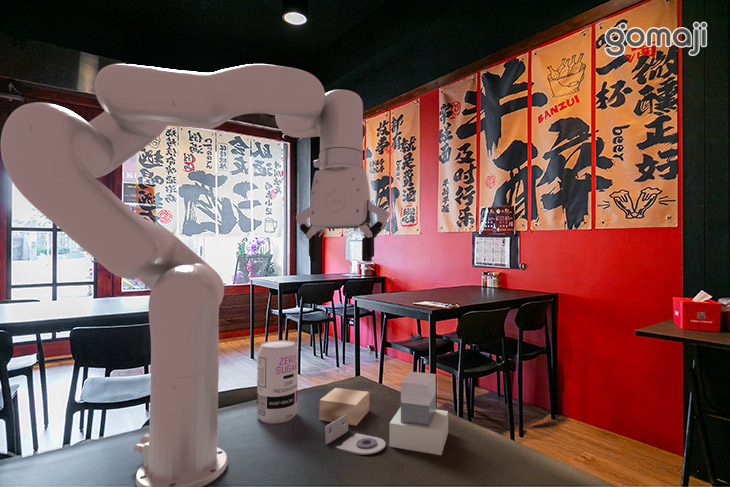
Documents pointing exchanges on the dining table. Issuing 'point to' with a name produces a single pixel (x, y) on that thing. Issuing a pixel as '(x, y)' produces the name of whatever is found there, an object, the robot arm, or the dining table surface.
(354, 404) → the stand
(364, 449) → the bracket
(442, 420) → the stand
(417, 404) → the block
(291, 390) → the supplement can
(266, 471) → the dining table surface
